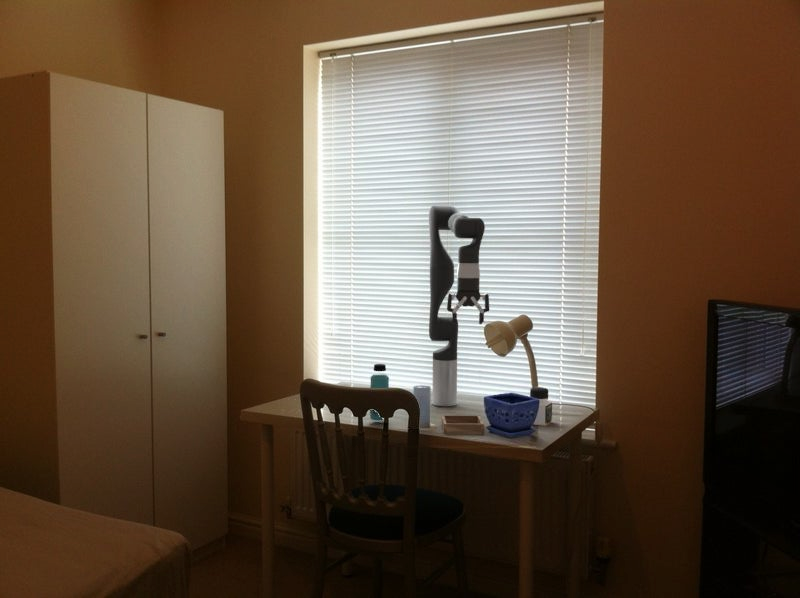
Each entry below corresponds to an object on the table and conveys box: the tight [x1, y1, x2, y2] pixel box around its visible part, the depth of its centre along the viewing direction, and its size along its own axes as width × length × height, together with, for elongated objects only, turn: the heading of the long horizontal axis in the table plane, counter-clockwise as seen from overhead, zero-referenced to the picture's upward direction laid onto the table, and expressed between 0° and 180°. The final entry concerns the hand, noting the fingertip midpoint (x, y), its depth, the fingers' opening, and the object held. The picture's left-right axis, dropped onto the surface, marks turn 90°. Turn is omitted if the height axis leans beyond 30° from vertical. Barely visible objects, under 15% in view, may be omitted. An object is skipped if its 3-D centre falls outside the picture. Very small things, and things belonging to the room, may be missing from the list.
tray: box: [441, 414, 485, 435], centre depth 235 cm, size 13×13×4 cm
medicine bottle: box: [529, 386, 553, 427], centre depth 246 cm, size 7×7×12 cm
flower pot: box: [483, 392, 540, 439], centre depth 230 cm, size 13×13×12 cm
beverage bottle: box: [369, 363, 390, 422], centre depth 244 cm, size 6×7×20 cm
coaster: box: [406, 422, 438, 431], centre depth 238 cm, size 10×10×1 cm
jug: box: [412, 384, 432, 428], centre depth 237 cm, size 6×8×13 cm
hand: (467, 324), depth 248 cm, fingers open, 8 cm apart
